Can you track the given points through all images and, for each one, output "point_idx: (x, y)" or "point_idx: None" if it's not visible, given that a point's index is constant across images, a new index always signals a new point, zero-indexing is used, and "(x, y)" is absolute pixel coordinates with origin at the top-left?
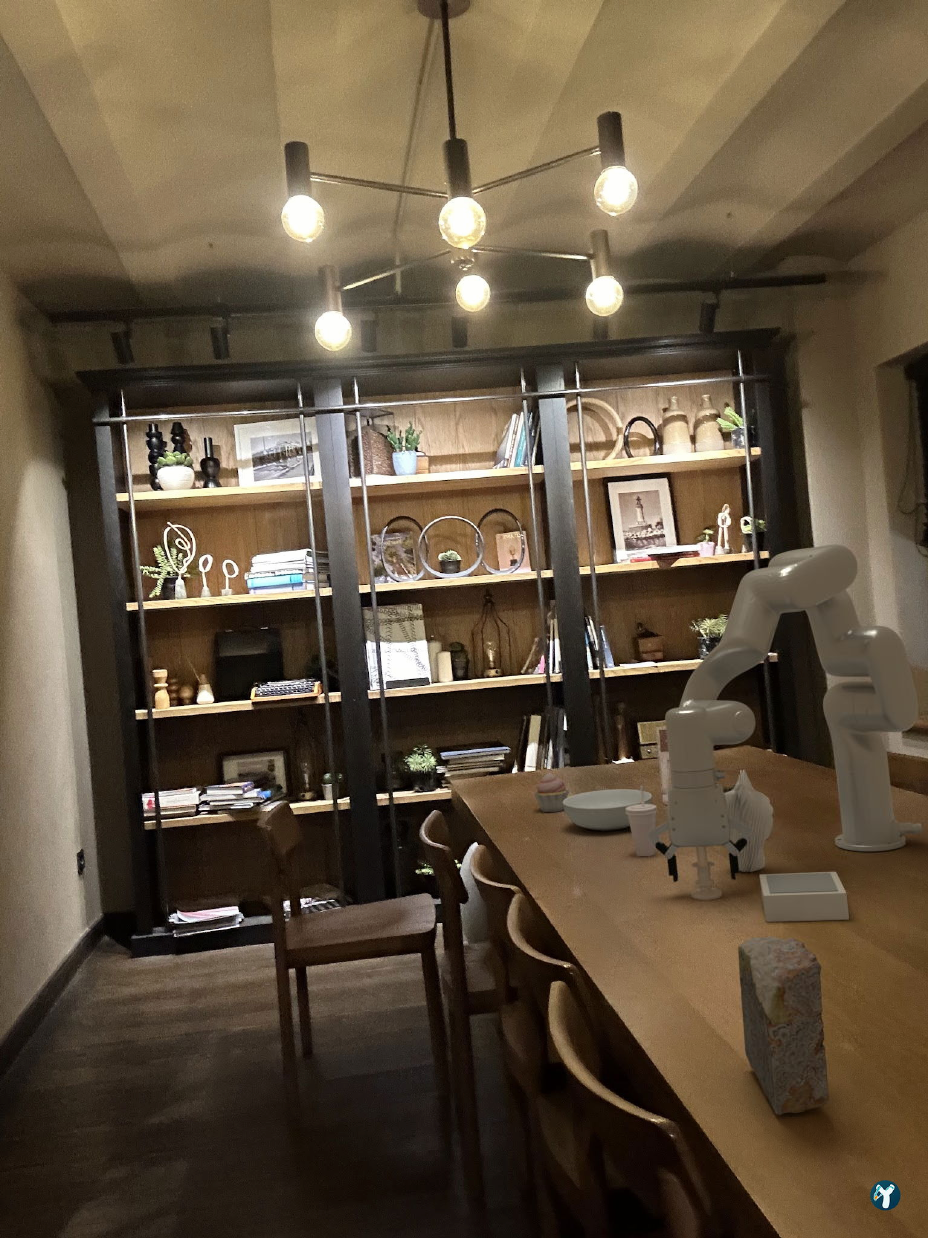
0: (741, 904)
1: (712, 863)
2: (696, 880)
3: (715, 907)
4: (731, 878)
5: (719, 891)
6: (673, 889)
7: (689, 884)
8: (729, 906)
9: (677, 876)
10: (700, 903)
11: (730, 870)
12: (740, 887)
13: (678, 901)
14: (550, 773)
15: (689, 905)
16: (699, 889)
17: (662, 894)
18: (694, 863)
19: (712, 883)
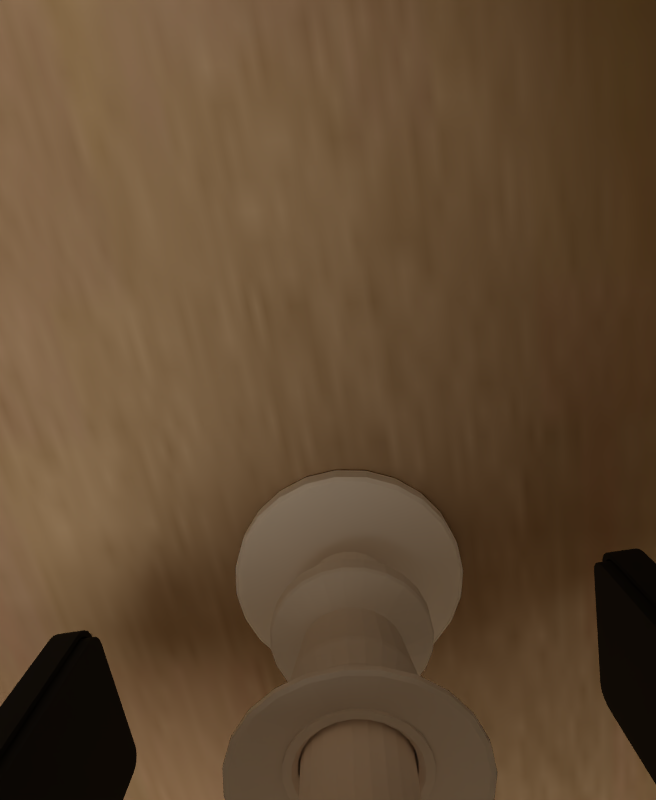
0: (598, 727)
1: (466, 739)
2: (276, 632)
3: None
4: (607, 700)
5: (446, 562)
6: (64, 434)
7: (151, 287)
8: (526, 763)
9: (115, 755)
10: None
11: (648, 770)
12: (585, 357)
13: (187, 693)
14: None
15: None
16: (287, 524)
17: (26, 558)
18: (247, 748)
19: (422, 670)
